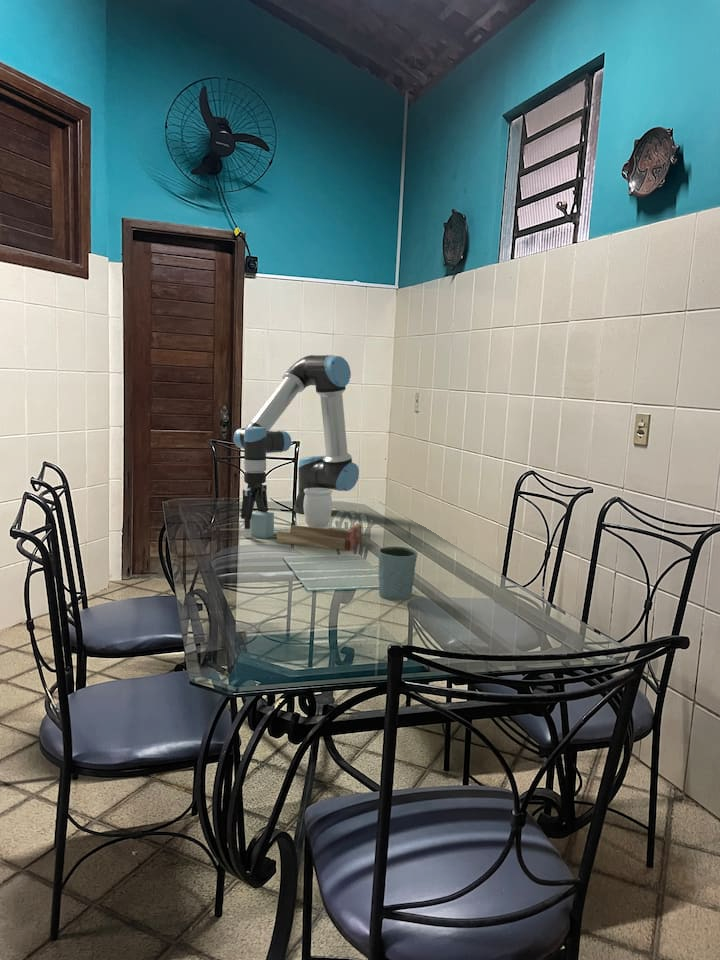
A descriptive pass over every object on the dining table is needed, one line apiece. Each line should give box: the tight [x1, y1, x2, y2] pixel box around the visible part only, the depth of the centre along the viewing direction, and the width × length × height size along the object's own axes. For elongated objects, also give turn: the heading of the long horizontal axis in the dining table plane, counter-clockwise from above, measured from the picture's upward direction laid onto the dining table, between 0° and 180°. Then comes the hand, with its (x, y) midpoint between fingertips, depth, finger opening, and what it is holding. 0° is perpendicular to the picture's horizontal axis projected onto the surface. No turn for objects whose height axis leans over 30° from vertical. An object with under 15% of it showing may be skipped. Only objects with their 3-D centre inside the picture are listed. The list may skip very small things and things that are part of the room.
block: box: [251, 510, 275, 539], centre depth 243 cm, size 6×6×8 cm
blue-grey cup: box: [378, 546, 418, 601], centre depth 181 cm, size 10×10×12 cm
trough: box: [276, 524, 362, 551], centre depth 236 cm, size 12×26×6 cm, turn 71°
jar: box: [303, 488, 333, 529], centre depth 255 cm, size 11×10×15 cm
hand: (254, 534), depth 244 cm, fingers open, 9 cm apart
